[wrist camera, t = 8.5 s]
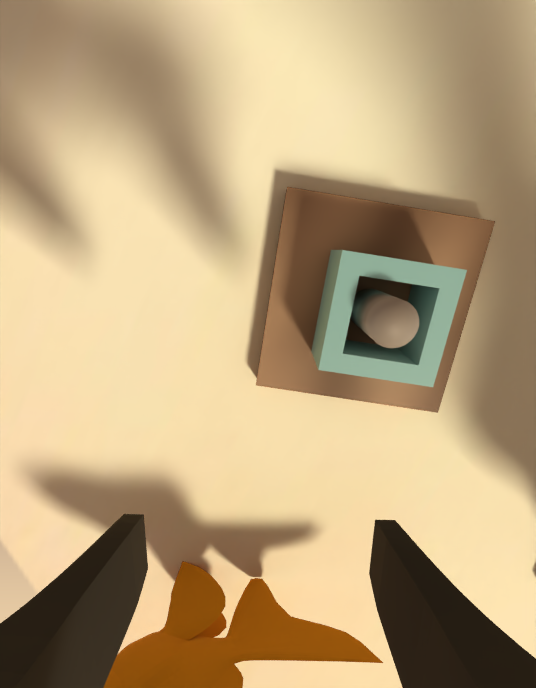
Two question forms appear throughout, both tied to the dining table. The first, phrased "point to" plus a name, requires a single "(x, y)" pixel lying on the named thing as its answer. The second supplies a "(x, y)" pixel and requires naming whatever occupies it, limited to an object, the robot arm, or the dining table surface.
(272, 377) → the post block
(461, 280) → the collar
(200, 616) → the toy
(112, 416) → the dining table surface
